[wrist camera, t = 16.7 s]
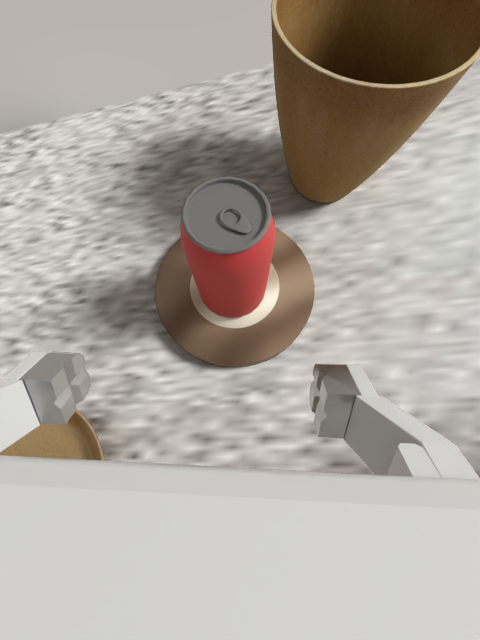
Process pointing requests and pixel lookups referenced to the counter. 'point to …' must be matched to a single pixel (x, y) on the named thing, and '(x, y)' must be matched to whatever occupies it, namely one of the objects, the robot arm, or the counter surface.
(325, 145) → the plant pot
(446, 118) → the counter surface
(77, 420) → the plant saucer
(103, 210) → the counter surface
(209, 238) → the beer can
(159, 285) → the disc
